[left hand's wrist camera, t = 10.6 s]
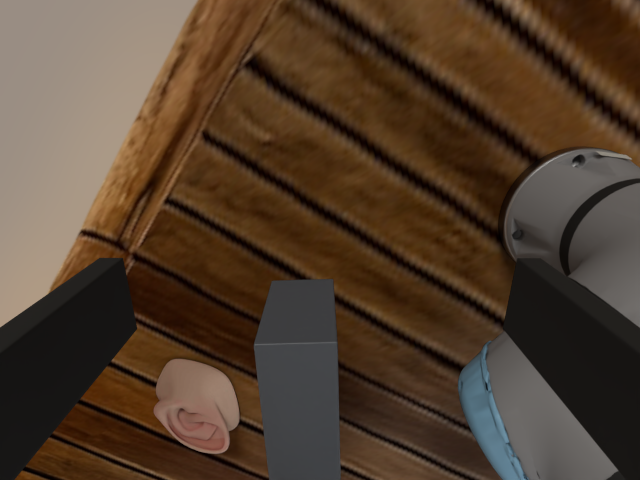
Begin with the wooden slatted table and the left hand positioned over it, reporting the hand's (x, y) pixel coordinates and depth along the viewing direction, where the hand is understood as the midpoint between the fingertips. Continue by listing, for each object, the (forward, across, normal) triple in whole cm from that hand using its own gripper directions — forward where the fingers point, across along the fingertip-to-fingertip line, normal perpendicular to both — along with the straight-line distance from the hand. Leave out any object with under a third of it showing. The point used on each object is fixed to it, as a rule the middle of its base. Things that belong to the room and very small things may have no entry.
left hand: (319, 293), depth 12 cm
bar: (+15, -1, -19) cm, 24 cm away
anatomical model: (+30, -17, -33) cm, 47 cm away
